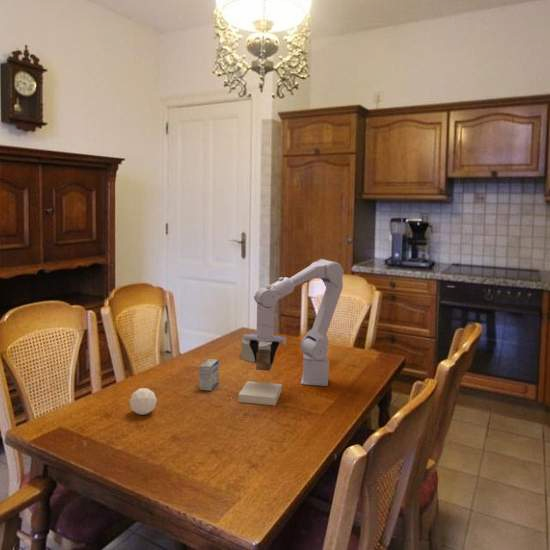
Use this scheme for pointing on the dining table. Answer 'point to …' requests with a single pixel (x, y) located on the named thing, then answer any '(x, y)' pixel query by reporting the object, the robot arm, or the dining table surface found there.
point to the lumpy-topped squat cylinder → (247, 351)
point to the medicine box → (209, 374)
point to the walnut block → (263, 359)
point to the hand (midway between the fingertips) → (264, 362)
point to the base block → (260, 393)
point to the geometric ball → (143, 401)
